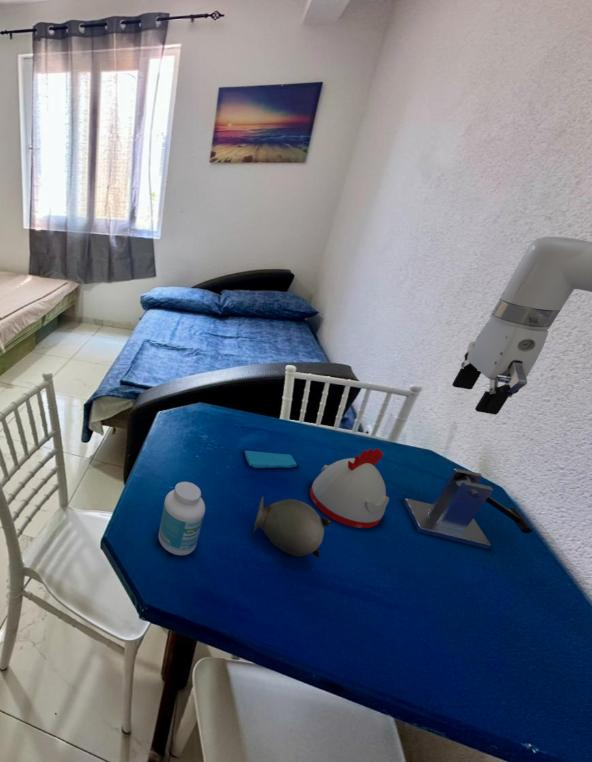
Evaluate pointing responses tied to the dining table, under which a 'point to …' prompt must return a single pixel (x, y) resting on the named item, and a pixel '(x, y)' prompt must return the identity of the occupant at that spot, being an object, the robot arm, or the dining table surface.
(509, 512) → the lever
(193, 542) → the pill bottle
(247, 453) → the sponge
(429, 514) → the bracket
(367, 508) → the kitchen timer
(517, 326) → the robot arm
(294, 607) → the dining table surface
